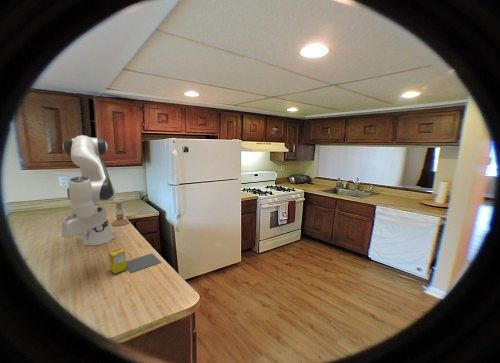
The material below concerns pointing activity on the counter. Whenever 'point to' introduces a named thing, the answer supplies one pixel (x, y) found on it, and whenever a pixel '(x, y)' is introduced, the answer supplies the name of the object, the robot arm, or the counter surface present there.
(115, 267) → the supplement box
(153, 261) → the mat
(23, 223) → the counter surface
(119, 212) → the candle holder
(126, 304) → the counter surface
